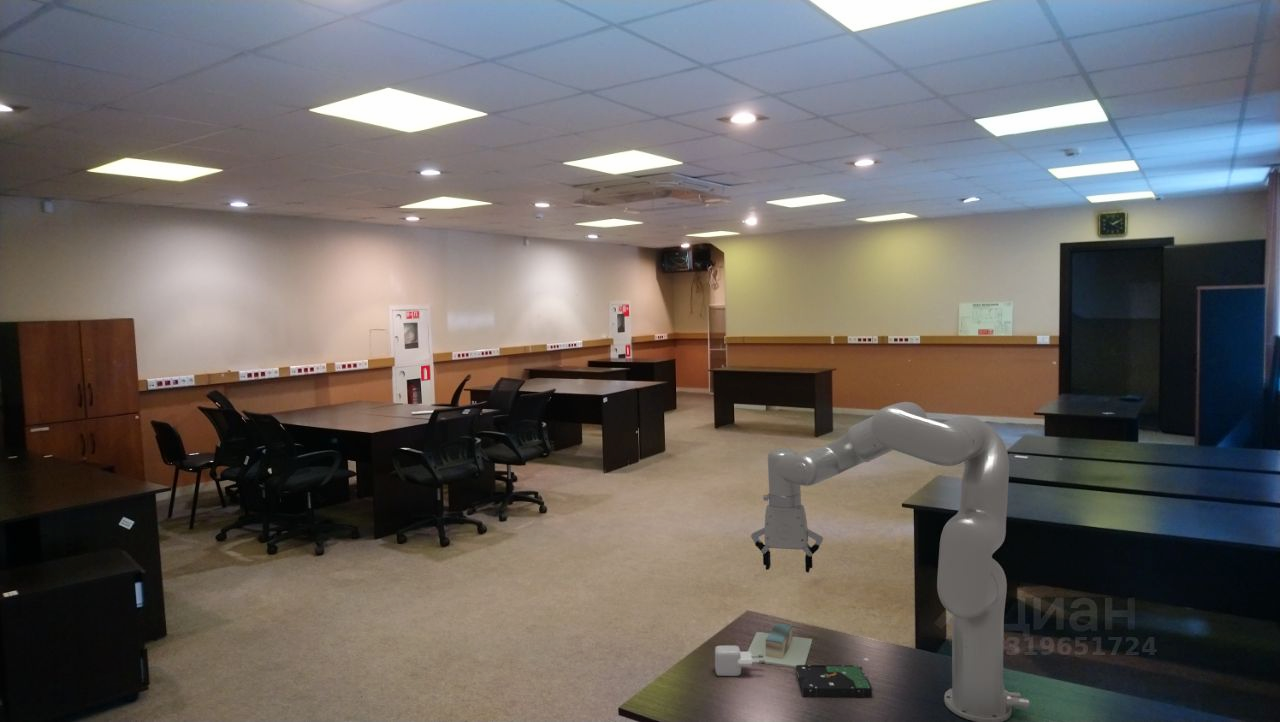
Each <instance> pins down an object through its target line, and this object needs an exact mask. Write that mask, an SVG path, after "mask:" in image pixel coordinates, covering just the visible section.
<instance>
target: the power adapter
mask: <svg viewBox="0 0 1280 722" xmlns="http://www.w3.org/2000/svg"><path fill="white" fill-rule="evenodd" d="M752 658H763V655H762V654H758V655H753V654H751V652H747V651H741V648H740V647H739V646H738V645H716V646H715V647H714V667H715V668H714V669H715V674H716V676H719V677H727V676H728V677H739V676H741V674H742V667H753V664H761V663H764V662H765V661H764V660H752Z"/></svg>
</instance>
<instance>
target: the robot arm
mask: <svg viewBox="0 0 1280 722" xmlns="http://www.w3.org/2000/svg"><path fill="white" fill-rule="evenodd" d="M892 451H896V452H898V453H901V454H905V455H907V456H910V457H913V458H915V459H919V460H922V461H924V462H925V461H926V462H928V463H931V464H934V465H937V466H941V467H954V466H957V465H960V464H962V463H964V467H963V468H964V469H963V470H964V471H963V473H962V479H961V485H960V492H961V493H960V501H959V508H958V511H957V513H956V514H954V515H953V516H952V517H951V518H950V519H949V520H947V522H946V523H945V525H944V526H943V529H942V532H941V535H940V541H939V549H938V551H939V552H938V564H937V565H938V566H937V579H936V581H937V582H936V589H937V595H938V598H939V601H940V603H941V604H942V607H944V608H945V610H946V611H947V612H948V613H950V615H952V621H951V622H952V623H951V624H952V626H951V627H952V629H951V630H952V631H951V636H952V638H951V639H952V640H951V642H952V643H951V644H952V645H951V650H952V651H951V657H952V659H951V662H952V663H951V673H952V674H951V675H952V676H951V678H952V680H951V682H952V684H951V687H952V688H949V689H948V690H946V691H945V692H944V697H943V702H944V705H945V706H946V707H947V709H948V710H949V711H951V712H952V713H953V714H955V715H957V716H959V717H961V718H963V719H965V720H968V721H972V722H1005V721H1007V720H1009V719H1010V718H1011V716H1012V710H1013V709H1012V707H1015V708H1019V709H1026V710H1030V700H1029V698H1024V697H1022V696H1021V693H1020V692H1015V691H1013V692H1012V691H1008V690H1007V689H1006V688H1005V685H1004V635H1005V634H1004V619H1005V608H1006V601H1007V600H1006V599H1007V591H1008V589H1007V587H1008V584H1007V577H1006V574H1005V571H1004V569H1003V568H1002V566H1001V565H1000V563H999V562H998V561H996V559H995V558H993V554H994V553H996V551H997V550H998V549H999V548H1000V547H1001V546H1002V545H1003V543H1004V541H1005V538H1006V533H1007V513H1008V512H1007V510H1008V501H1009V500H1008V498H1009V497H1008V493H1009V492H1008V491H1009V479H1010V477H1009V475H1010V461H1009V459H1010V458H1009V453H1008V450H1007V447H1006V444H1005V442H1004V440H1003V439H1002V436H1001V435H1000V434H999V433H998V432H997V431H996V430H995V429H994V428H993V427H992V426H991V425H989V424H988V423H986V422H985V421H983V420H981V419H979V418H977V417H972V416H958V417H957V416H956V417H954V418H952V419H949V420H947V421H944V422H941V421H938V420H934V419H931V418H928V416H927V414H926V412H925V410H924V409H923V408H922V407H921V406H920V405H919V404H917V403H914V402H911V401H903V402H898V403H894V404H890V405H888V406H885V407H882V408H880V409H879V410H878V411H877V412H876V413H875V414H874V415H872V416H870V417H868V418H867V419H865V420H862V421H860V422H858V423H856V424H854V425H851V427H849V429H848V431H847V433H846V434H844V435H842V436H841V437H839V438H837V439H836V440H833V441H832V442H829V443H828V444H826V445H823V446H821V447H818V448H815V449H813V450H809V451H806V452H801V453H799V452H798V451H797V450H795V449H791V448H776V449H773V450H770V451H769V453H768V454H767V472H768V490H769V491H768V493H767V494H764V495H763V501H767V502H768V504H767V505H766V508H765V514H764V527H763V528H761V529H759V530H756V531H754V532H752V533H751V535H750V537H751V539H752V541H753V542H754V545H755V546H756V547H757V549H759V550H760V552H761V554H762V561H763V562H762V564H763V566H765V570H766V571H768V570H770V568H771V564H772V562H771V561H772V560H771V550H770V548H772V549H780V550H781V549H783V550H785V549H786V550H803V552H804V553H805V556H804V561H805V563H804V564H805V572H806V573H808V574H809V573H810V570H811V569H813V555H814V554H815V553H816V552H817V551H818V550H819V549H820V546H821V544H822V543H823V540H824V536H822V535H821V534H818V533H817V532H815V531H813V530H810V529H809V528H808V523H807V514H806V509H805V507H804V504H802V498H801V497H802V495H801V493H802V492H801V490H802V489H801V486H804V487H810V486H813V485H816V484H819V483H822V482H823V481H826V480H828V479H830V478H831V479H832V478H833V477H835V476H837V475H840V474H842V473H843V472H846V471H848V470H850V469H853V468H854V467H856V466H858V465H860V464H863V463H868V462H871V461H873V460H875V459H877V458H879V457H881V456H883V455H886V454H888V453H889V452H892ZM761 536H764V543H763V542H762V541H761V540H760V537H761ZM809 538H811V539H813V540H815V543H814V544H813V545H812V546H810V544H809V543H808V542H809Z"/></svg>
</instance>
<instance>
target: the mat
mask: <svg viewBox="0 0 1280 722" xmlns="http://www.w3.org/2000/svg"><path fill="white" fill-rule="evenodd" d="M769 633H770V632H769ZM769 633H768V632H763V631H762V632H760V631H756V633H755V634H754V637H753V640H752V641H751V644H750V646H748V647H749V648H748V650H747V651H746V652H751V654H753V655H758V654H762V655H763V658H752V660H764V661H765V662H764V663H766V664H765V665H768V664H772V665H771V666H775V665H778V666H777V667H782V666H785V667H784V668H788V667H790V668H789V669H795V670H796V665H807V664H806V663H807V661H808V657H809V655H808V654H810V651H811V648H812V645H813V642H812V641H813V640H814V639H813V638H807V637H806V638H805V637H800V636H793V635H792V643H791V645H790V647H789V648H788V650H787V652H786V654H785V656H784V657H783V659H778V658H773V657H767V656H766V638H767V637H768V635H769ZM811 644H812V645H811Z"/></svg>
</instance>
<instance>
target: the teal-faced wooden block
mask: <svg viewBox="0 0 1280 722" xmlns="http://www.w3.org/2000/svg"><path fill="white" fill-rule="evenodd" d="M792 636H793V625H792V624H787V623H779V622H776V623H775V624H774V626H773V627H772V628H771V631H770V632H769V635H768V637H767V638H766V656H767V657H773V658H778V659H783V657H784V656H785V654H786V652H787V650H788V648H789V647H790V645H791V643H792Z"/></svg>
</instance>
